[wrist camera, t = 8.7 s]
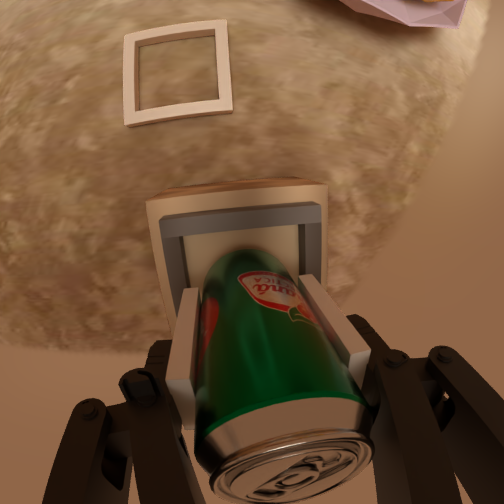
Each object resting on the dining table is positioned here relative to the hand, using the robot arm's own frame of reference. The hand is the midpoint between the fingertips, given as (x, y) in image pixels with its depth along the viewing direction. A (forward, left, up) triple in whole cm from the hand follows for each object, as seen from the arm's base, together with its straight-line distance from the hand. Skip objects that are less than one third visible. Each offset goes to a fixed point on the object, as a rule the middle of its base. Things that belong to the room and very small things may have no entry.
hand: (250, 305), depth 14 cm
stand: (0, 0, -12) cm, 12 cm away
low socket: (-4, +16, -12) cm, 20 cm away
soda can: (0, 0, -2) cm, 2 cm away
